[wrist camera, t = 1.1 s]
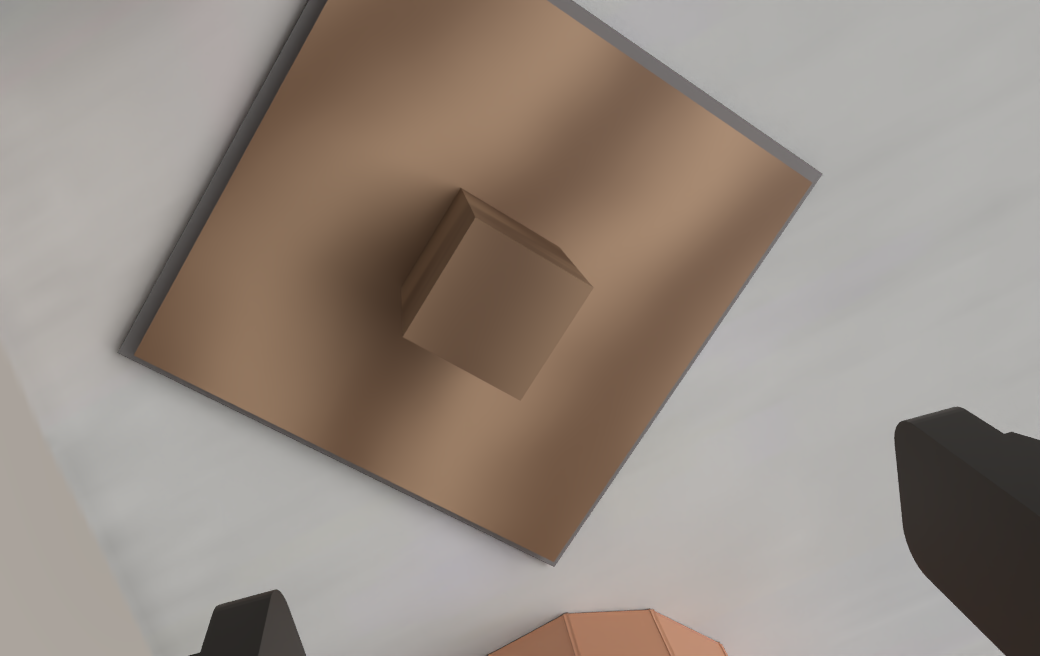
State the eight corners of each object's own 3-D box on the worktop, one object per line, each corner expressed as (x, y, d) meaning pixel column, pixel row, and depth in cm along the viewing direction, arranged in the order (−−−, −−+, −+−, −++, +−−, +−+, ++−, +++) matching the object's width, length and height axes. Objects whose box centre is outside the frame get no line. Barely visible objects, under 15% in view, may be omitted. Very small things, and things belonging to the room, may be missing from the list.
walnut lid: (801, 178, 29) (897, 209, 23) (549, 549, 32) (582, 655, 26) (387, -105, 25) (385, -148, 19) (140, 347, 28) (78, 420, 22)
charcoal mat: (817, 172, 29) (822, 173, 29) (552, 560, 32) (554, 566, 32) (380, -130, 25) (380, -133, 25) (121, 348, 28) (117, 352, 28)
